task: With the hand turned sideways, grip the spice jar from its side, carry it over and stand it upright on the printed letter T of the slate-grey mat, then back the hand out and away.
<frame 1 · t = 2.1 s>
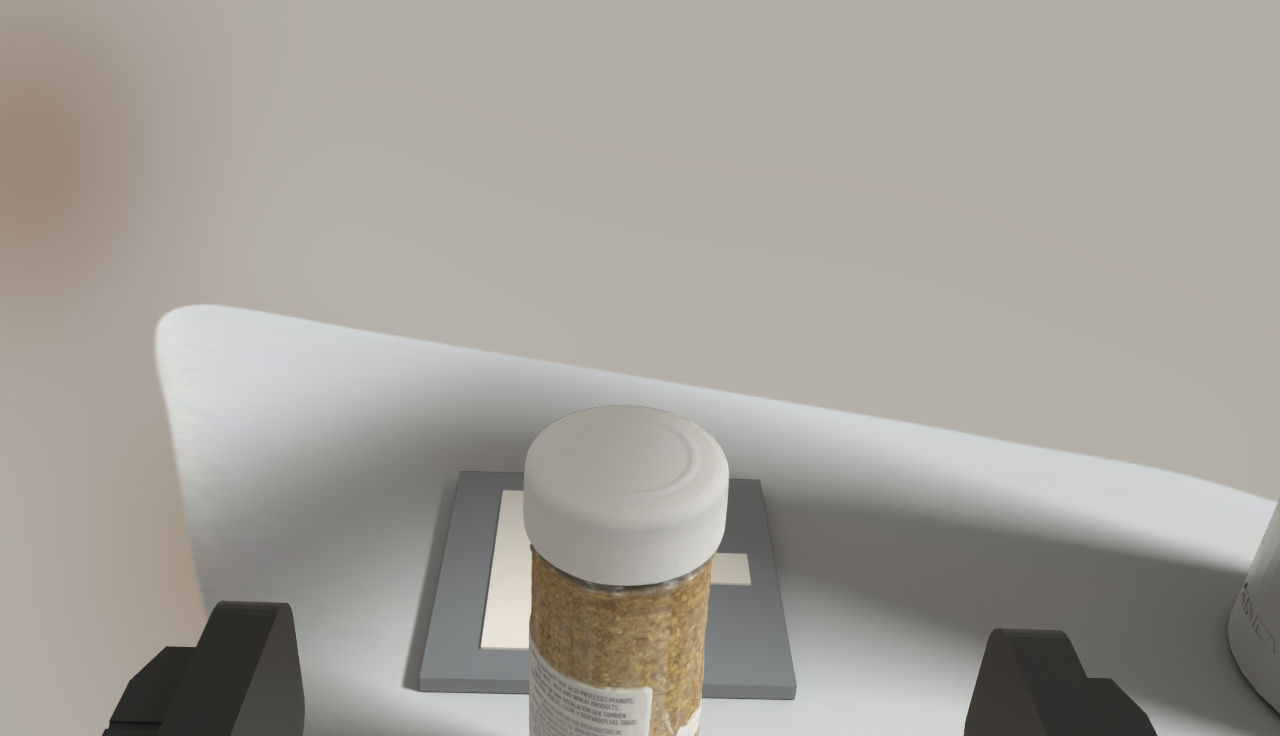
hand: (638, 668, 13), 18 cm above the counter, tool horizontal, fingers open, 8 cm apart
letter mat: (609, 579, 41), on the counter
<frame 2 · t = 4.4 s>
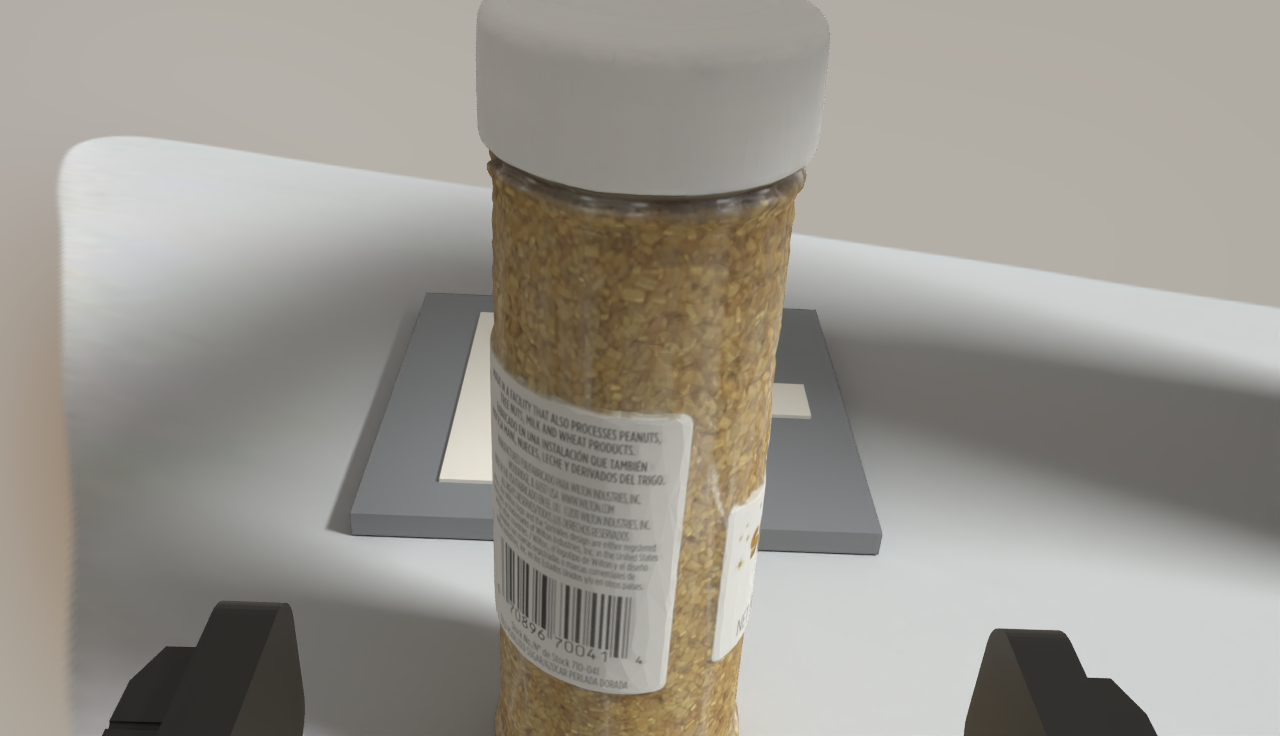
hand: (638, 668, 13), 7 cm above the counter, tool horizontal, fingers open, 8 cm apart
letter mat: (619, 414, 31), on the counter
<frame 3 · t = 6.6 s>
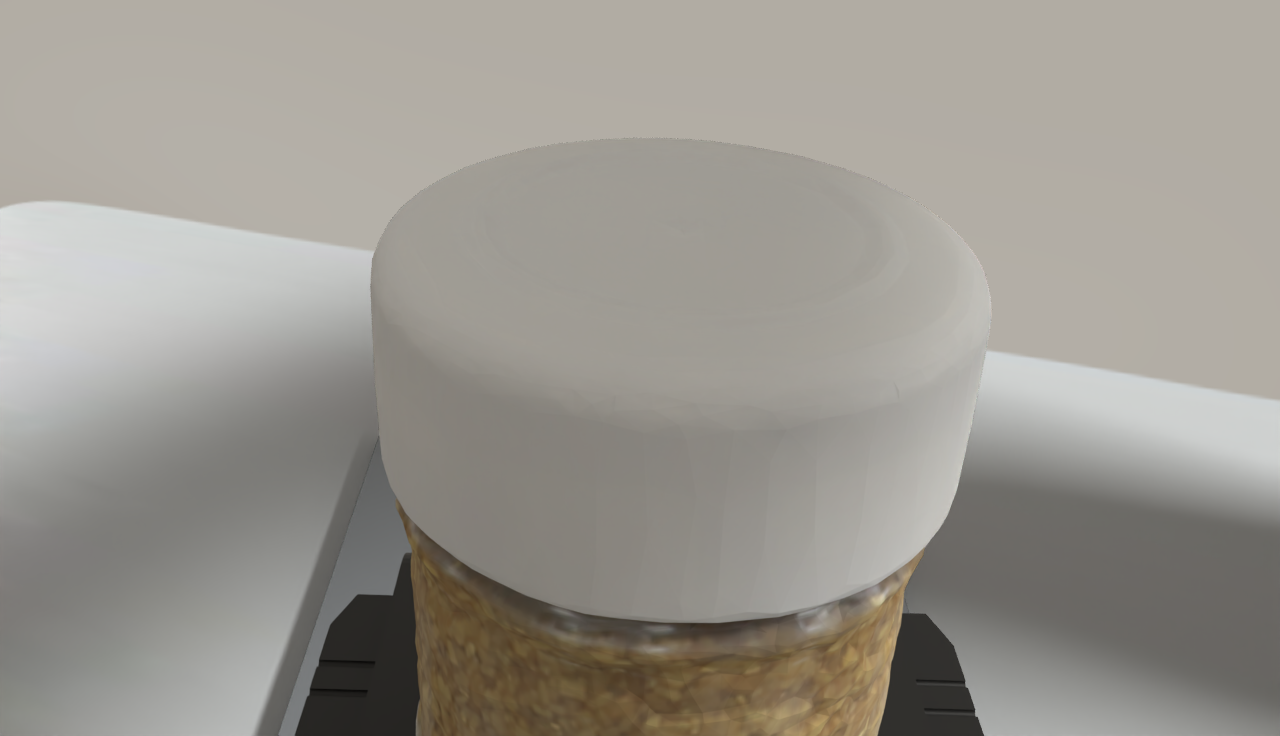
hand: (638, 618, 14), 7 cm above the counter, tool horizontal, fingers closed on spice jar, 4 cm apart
letter mat: (619, 593, 25), on the counter
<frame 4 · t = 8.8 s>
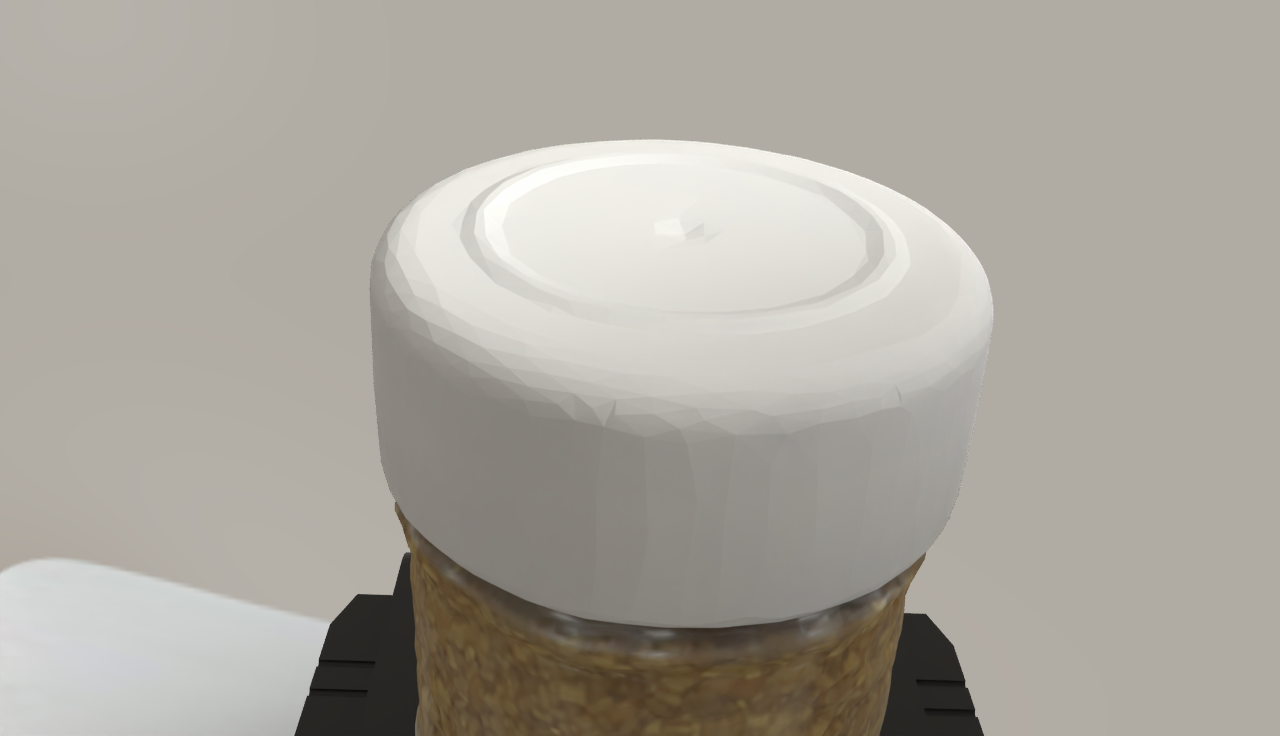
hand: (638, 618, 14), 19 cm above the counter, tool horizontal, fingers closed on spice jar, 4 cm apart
when the fingers open (8 cm above the counter, at t = 11.5 s): spice jar stays where it is, resting on letter mat.
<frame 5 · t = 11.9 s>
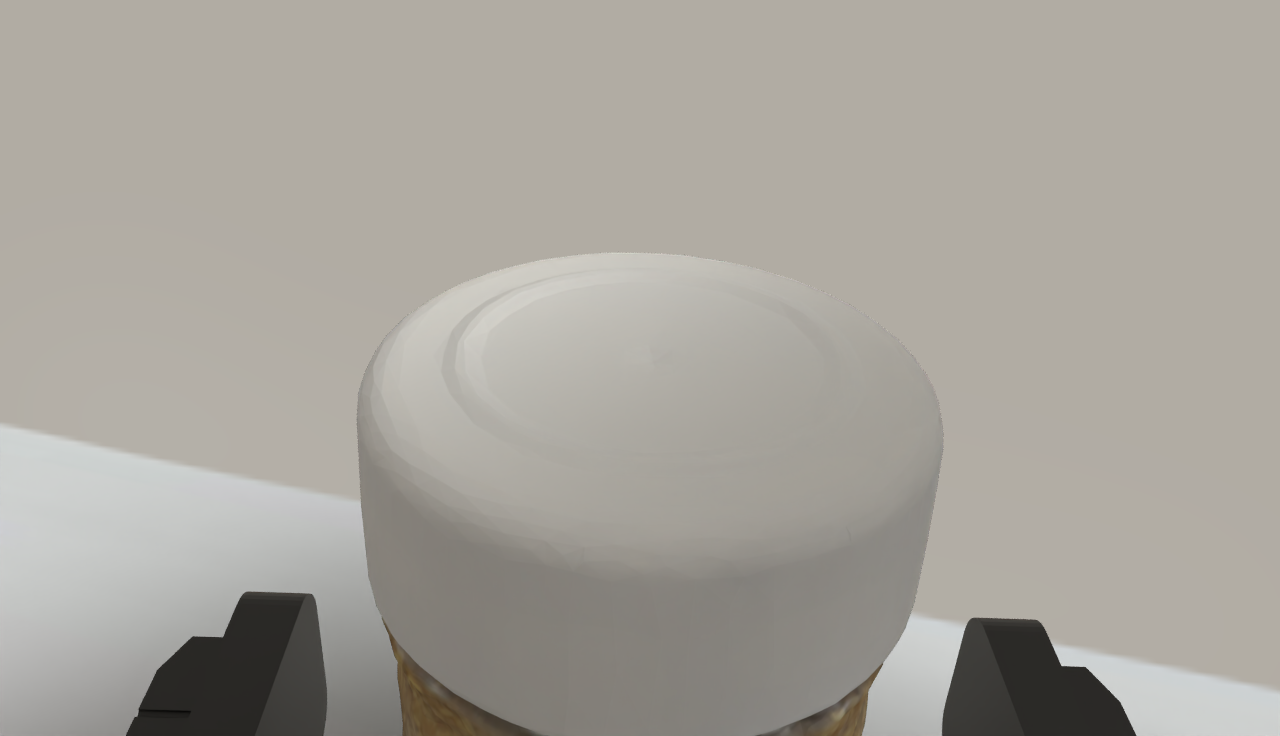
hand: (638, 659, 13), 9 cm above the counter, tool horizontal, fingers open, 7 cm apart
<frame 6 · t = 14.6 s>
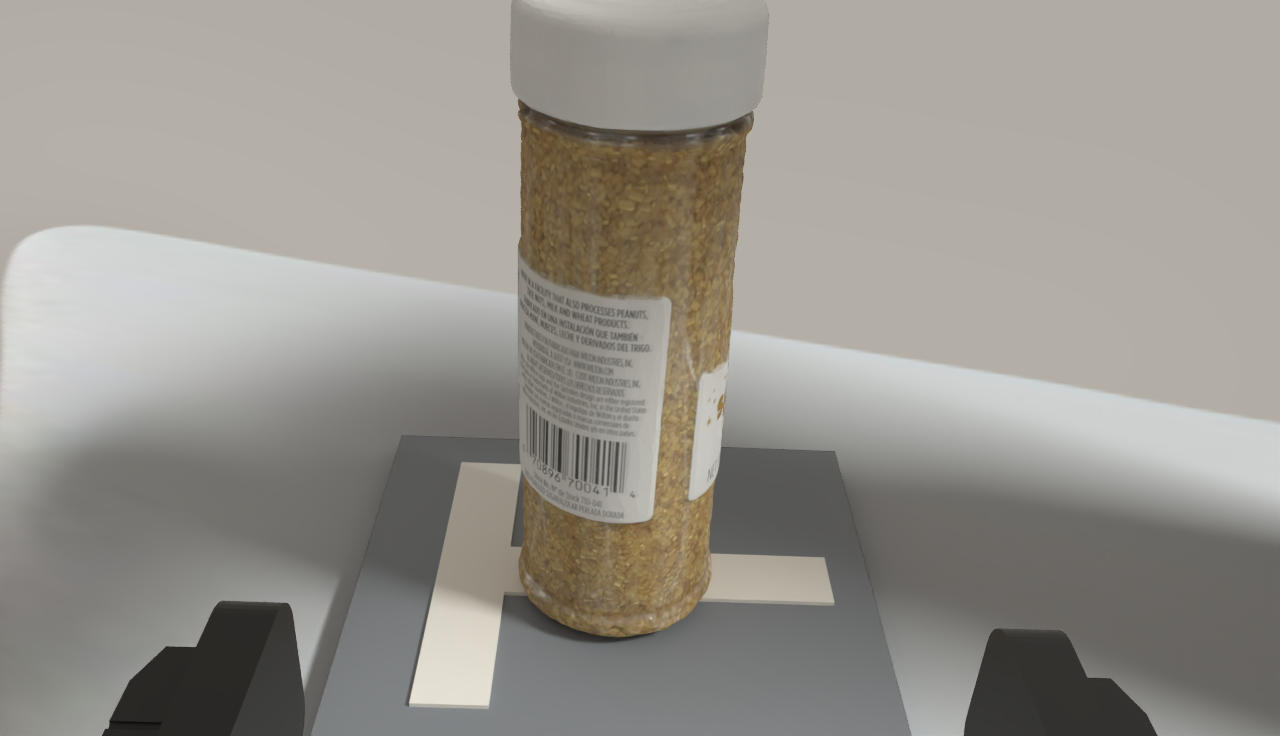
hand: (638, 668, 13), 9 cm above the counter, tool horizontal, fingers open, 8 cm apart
letter mat: (616, 594, 27), on the counter
spice jar: (612, 583, 27), resting on letter mat
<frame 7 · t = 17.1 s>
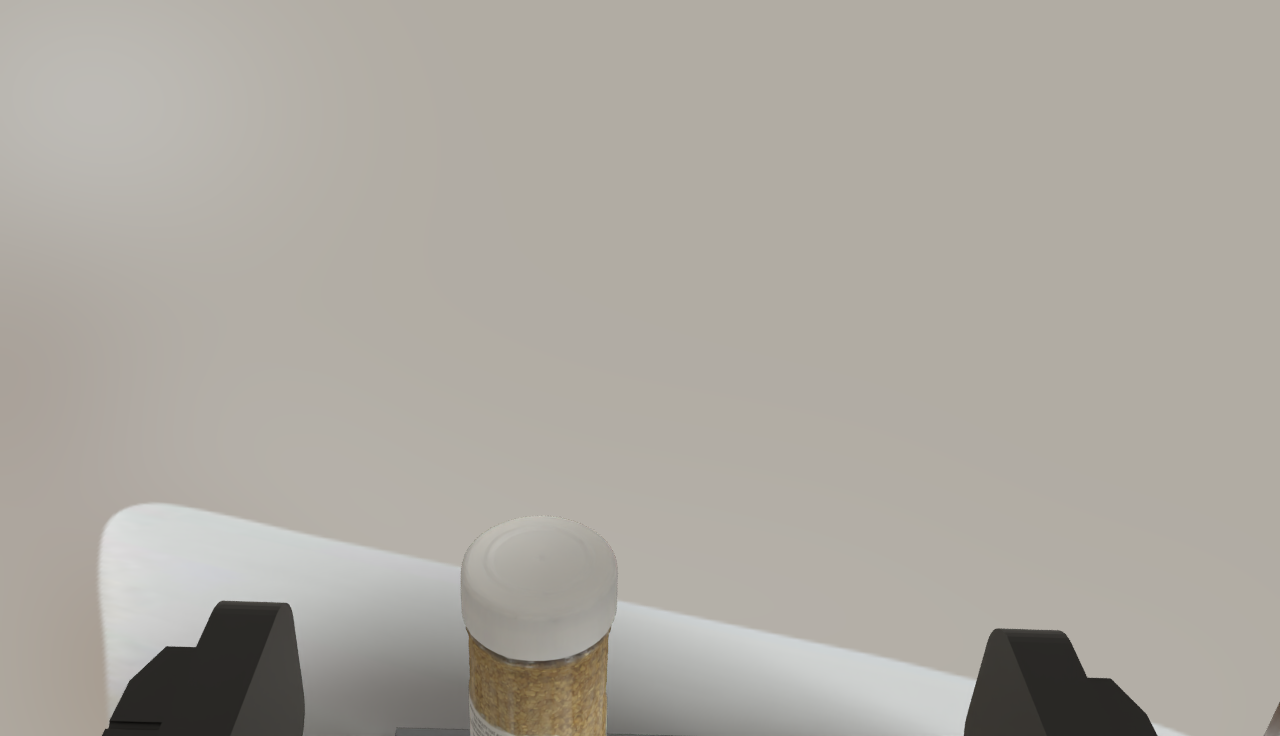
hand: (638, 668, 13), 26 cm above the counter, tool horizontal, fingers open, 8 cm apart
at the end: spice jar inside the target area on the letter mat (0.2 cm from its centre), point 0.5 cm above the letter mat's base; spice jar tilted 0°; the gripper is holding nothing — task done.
